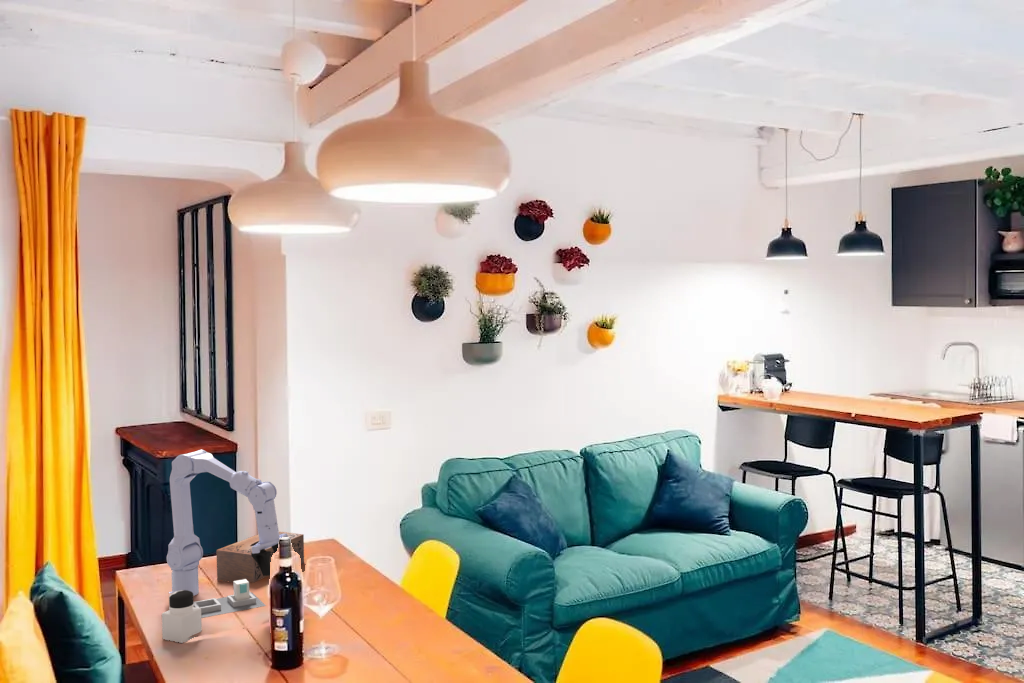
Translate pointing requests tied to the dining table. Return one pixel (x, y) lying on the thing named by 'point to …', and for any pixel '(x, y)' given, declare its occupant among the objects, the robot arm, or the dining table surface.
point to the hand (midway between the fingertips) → (274, 571)
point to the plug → (241, 589)
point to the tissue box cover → (248, 558)
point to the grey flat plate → (226, 605)
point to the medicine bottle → (181, 618)
